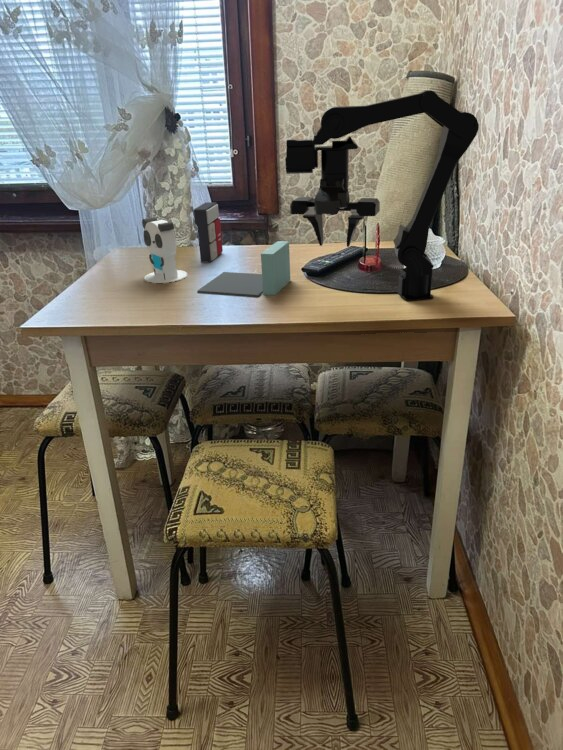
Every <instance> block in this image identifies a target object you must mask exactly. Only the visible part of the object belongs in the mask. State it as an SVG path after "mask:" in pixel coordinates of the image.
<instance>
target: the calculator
mask: <svg viewBox="0 0 563 750" xmlns="http://www.w3.org/2000/svg"><path fill="white" fill-rule="evenodd" d="M219 213H220V211H219V204H218V202H214V201H212V202H211V201H210V202H209V201H207V202H203V204H200V205H199V206H197V207H195V208H194V209H193V219H194V224H195V225H196V227H197V236H198V245H199V246H198V247H199V248H198V249H199V256H200V262H201V263H212V262H213V261H214V260H216V259H217V257H219V255H221V253H223V238H222V228H221V219H220V218H219V217H220V214H219Z"/></svg>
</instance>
